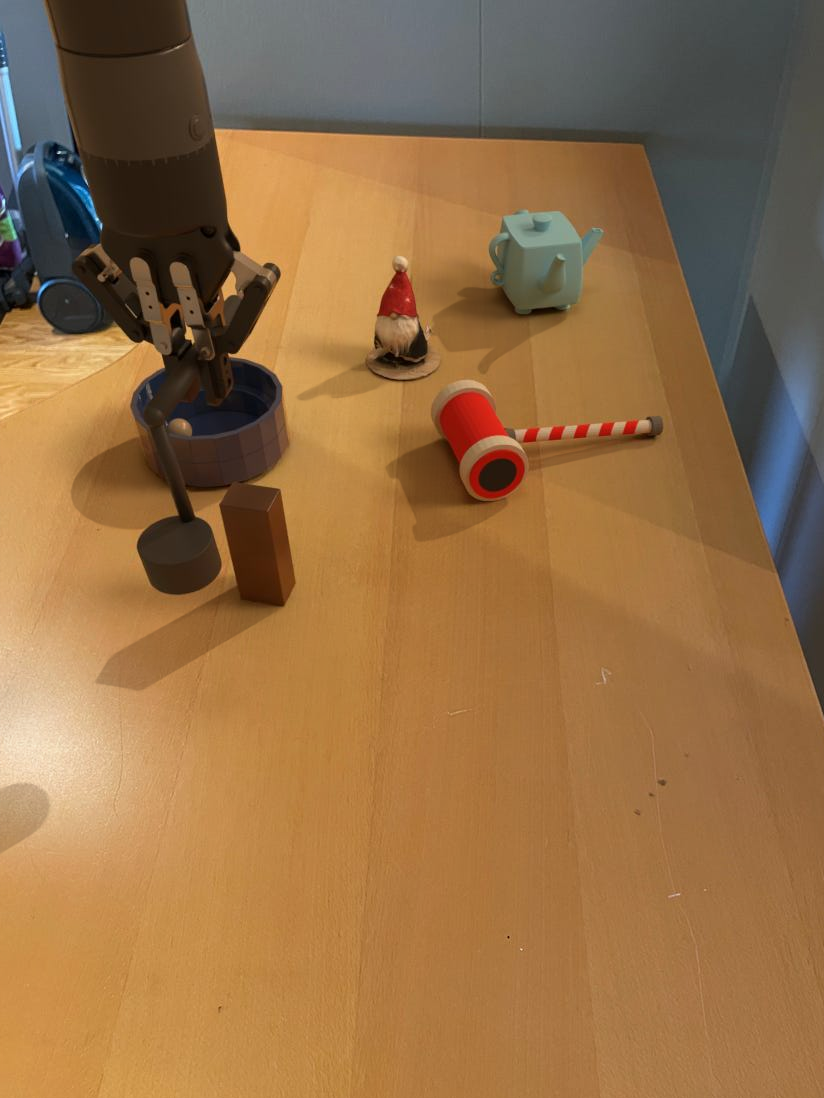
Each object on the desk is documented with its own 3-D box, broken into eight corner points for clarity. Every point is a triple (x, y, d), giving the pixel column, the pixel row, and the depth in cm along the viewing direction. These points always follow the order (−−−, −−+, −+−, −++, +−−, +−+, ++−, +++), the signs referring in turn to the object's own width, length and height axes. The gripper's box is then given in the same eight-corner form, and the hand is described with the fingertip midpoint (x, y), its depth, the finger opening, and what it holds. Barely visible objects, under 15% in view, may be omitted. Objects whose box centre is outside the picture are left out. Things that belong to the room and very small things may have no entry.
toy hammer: (634, 402, 104) (642, 349, 99) (682, 466, 97) (694, 411, 92) (430, 438, 99) (429, 383, 94) (464, 508, 91) (465, 452, 87)
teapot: (470, 270, 124) (471, 189, 117) (574, 259, 126) (581, 180, 119) (507, 341, 112) (511, 257, 105) (621, 328, 115) (633, 245, 107)
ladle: (205, 599, 65) (157, 456, 56) (136, 590, 65) (78, 448, 57) (297, 431, 77) (269, 293, 69) (238, 425, 78) (203, 288, 69)
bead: (166, 444, 96) (158, 424, 95) (180, 431, 98) (173, 411, 96) (185, 450, 96) (178, 430, 94) (199, 436, 97) (193, 416, 95)
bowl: (120, 480, 93) (104, 427, 89) (180, 399, 103) (168, 348, 98) (260, 501, 91) (251, 448, 87) (308, 417, 101) (302, 366, 97)
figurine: (394, 369, 100) (355, 262, 101) (374, 404, 110) (339, 305, 110) (465, 352, 103) (427, 247, 103) (440, 387, 113) (405, 290, 113)
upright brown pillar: (239, 599, 82) (218, 504, 75) (252, 575, 84) (232, 481, 77) (284, 606, 82) (267, 512, 74) (296, 582, 84) (280, 488, 76)
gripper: (284, 115, 56) (316, 380, 68) (63, 95, 57) (135, 357, 70) (236, 166, 51) (281, 442, 63) (-4, 142, 52) (86, 416, 65)
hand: (204, 396), depth 66 cm, fingers closed on ladle, 1 cm apart
